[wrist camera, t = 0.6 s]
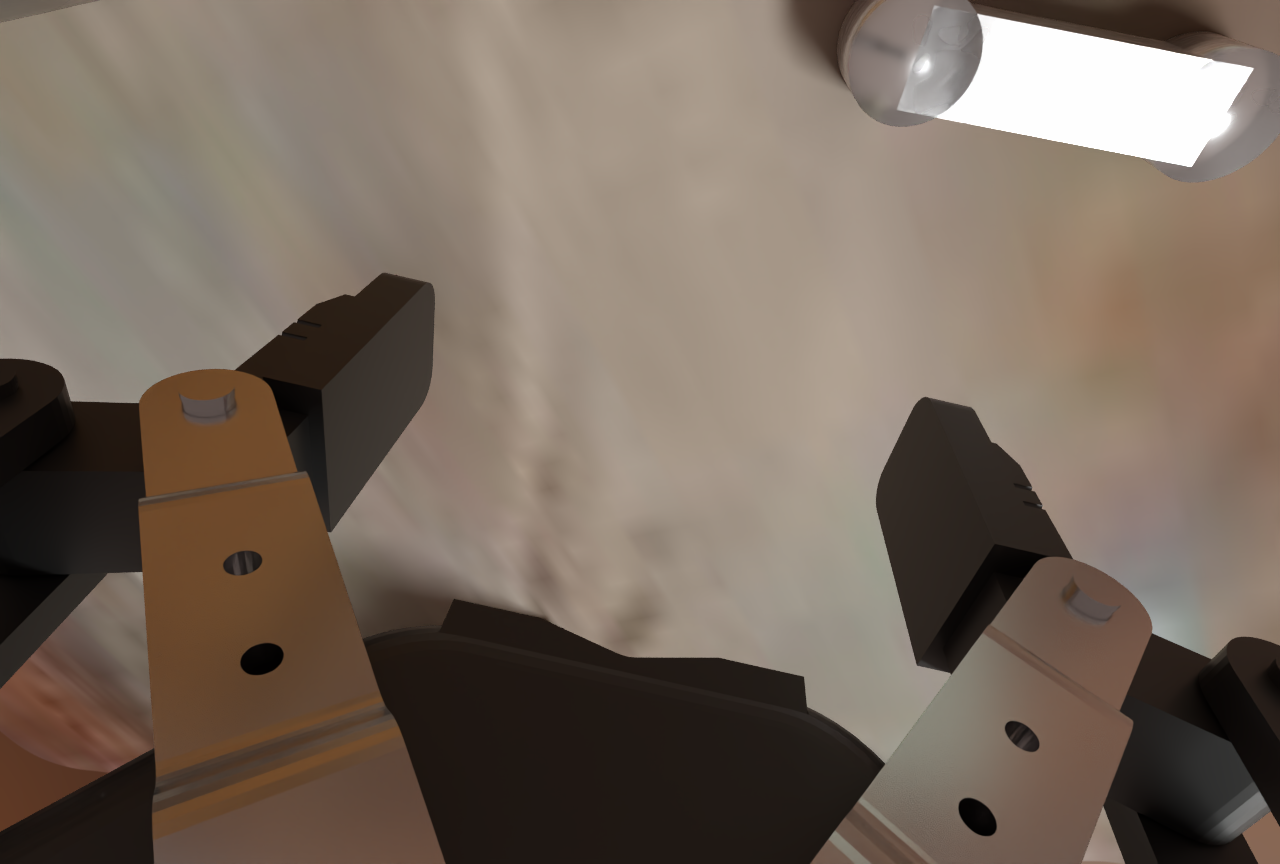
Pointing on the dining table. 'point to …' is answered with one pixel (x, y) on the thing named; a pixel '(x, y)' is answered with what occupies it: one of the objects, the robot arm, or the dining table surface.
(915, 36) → the grey dumbbell
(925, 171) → the dining table surface
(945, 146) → the dining table surface
